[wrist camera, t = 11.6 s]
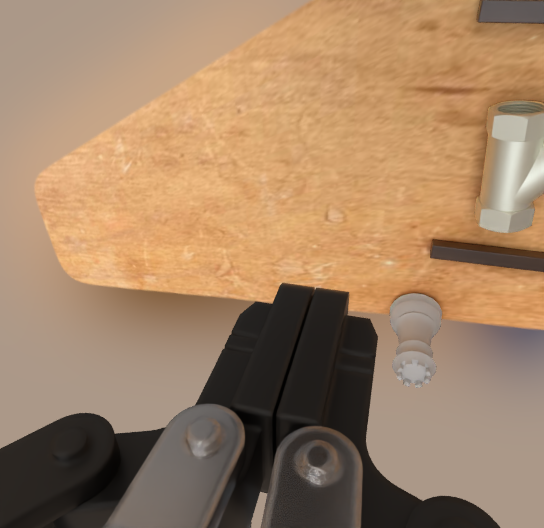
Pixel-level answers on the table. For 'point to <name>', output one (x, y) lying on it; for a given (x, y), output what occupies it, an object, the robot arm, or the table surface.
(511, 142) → the pipe fitting
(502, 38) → the table surface
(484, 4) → the frame
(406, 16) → the table surface
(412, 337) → the rook chess piece
